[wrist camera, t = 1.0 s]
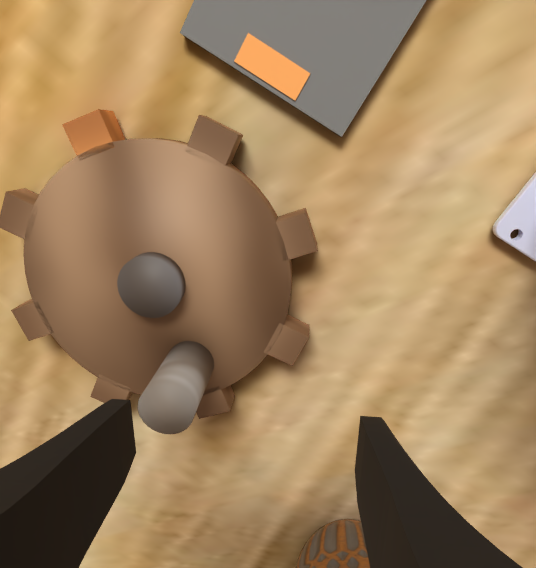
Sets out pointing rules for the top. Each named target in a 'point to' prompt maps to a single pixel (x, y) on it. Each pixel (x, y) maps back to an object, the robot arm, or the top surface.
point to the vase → (335, 547)
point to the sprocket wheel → (159, 268)
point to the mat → (306, 47)
